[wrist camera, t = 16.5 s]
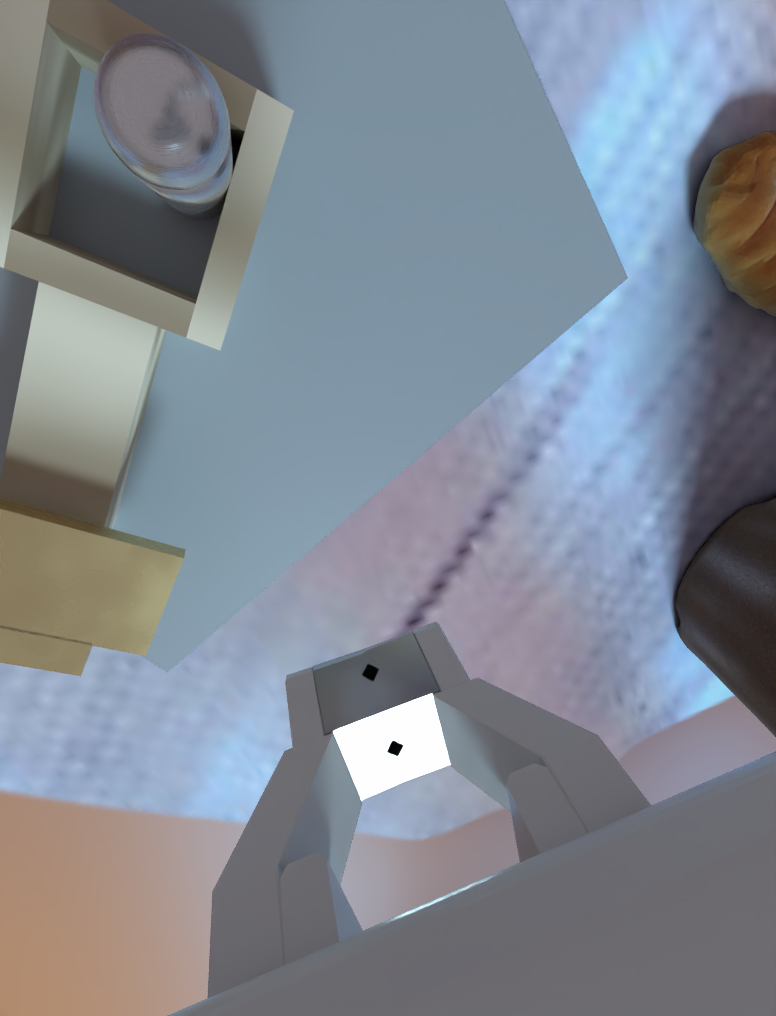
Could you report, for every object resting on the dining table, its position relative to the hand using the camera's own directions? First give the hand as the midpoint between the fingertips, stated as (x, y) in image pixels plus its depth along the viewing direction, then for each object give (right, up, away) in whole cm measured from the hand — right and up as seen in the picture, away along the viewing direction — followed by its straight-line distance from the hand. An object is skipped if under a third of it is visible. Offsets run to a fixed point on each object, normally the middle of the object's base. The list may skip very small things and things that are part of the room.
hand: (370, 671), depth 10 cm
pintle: (-6, +14, +7) cm, 16 cm away
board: (-5, +10, +9) cm, 14 cm away
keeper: (-12, +2, +10) cm, 16 cm away
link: (-9, +9, +8) cm, 15 cm away
